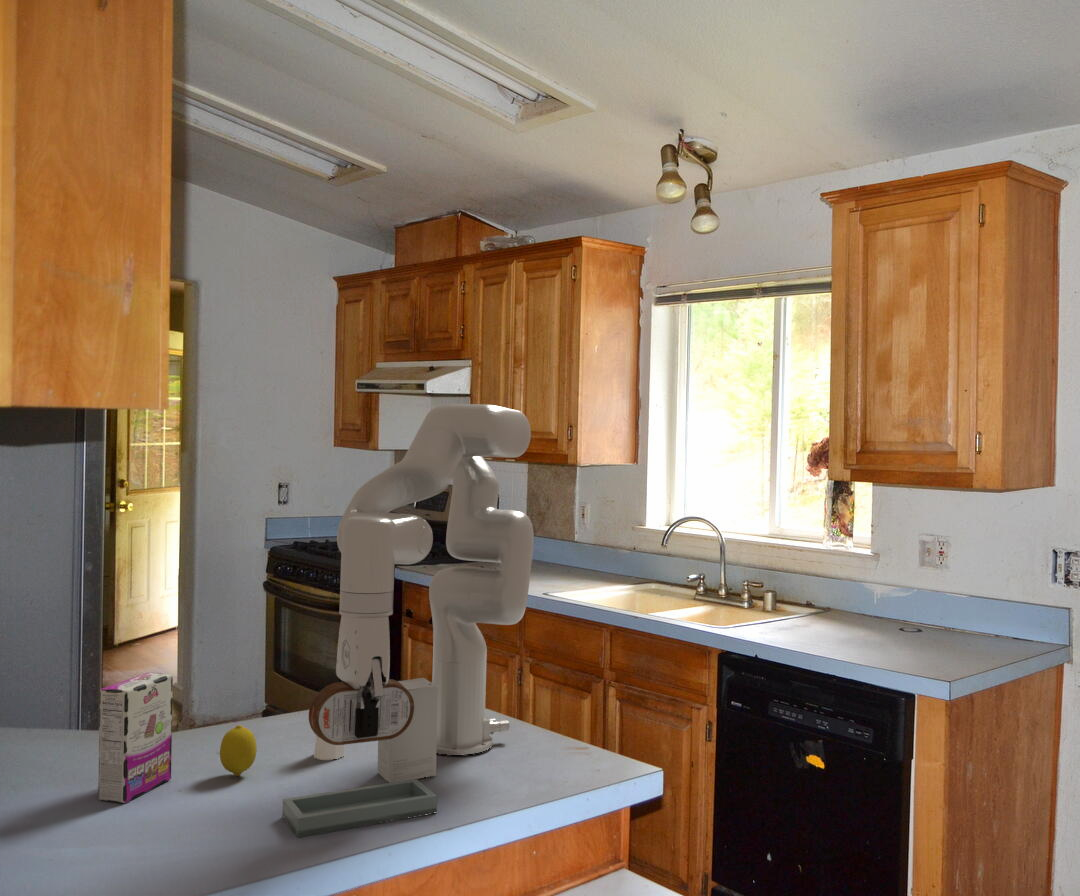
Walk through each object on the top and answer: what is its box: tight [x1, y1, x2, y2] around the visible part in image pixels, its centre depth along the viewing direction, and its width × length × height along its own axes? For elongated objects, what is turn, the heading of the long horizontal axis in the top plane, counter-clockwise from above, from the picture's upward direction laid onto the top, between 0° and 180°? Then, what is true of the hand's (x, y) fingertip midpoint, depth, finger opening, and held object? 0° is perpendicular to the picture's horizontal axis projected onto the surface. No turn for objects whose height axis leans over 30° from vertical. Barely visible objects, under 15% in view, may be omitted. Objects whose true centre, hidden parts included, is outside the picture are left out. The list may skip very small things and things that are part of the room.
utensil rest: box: [281, 779, 438, 838], centre depth 134 cm, size 20×8×2 cm, turn 119°
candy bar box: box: [97, 672, 174, 804], centre depth 142 cm, size 11×5×16 cm, turn 167°
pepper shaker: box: [313, 735, 345, 761], centre depth 160 cm, size 5×5×11 cm
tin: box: [308, 678, 414, 746], centre depth 134 cm, size 15×3×8 cm, turn 119°
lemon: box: [219, 724, 258, 777], centre depth 149 cm, size 6×6×8 cm
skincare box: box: [377, 677, 438, 783], centre depth 151 cm, size 8×6×15 cm
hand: (362, 732), depth 134 cm, fingers closed on tin, 2 cm apart
